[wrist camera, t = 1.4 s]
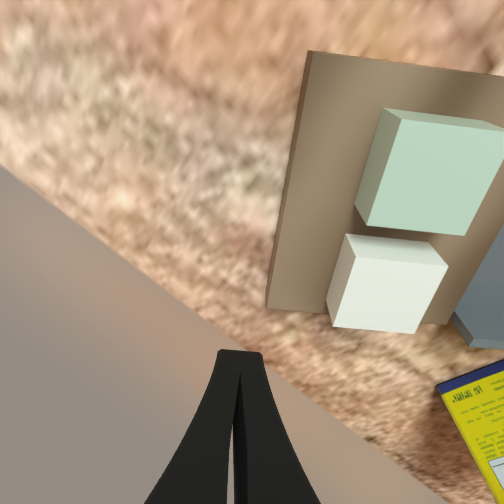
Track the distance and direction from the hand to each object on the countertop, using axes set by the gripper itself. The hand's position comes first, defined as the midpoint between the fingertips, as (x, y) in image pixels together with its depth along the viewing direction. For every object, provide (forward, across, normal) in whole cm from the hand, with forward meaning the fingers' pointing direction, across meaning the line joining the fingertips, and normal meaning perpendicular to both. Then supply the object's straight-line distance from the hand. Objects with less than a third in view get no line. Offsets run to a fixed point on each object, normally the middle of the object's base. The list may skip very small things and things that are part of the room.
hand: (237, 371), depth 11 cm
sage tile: (+7, -7, -6) cm, 11 cm away
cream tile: (+7, -7, 0) cm, 9 cm away
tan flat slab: (+8, -7, -3) cm, 11 cm away
